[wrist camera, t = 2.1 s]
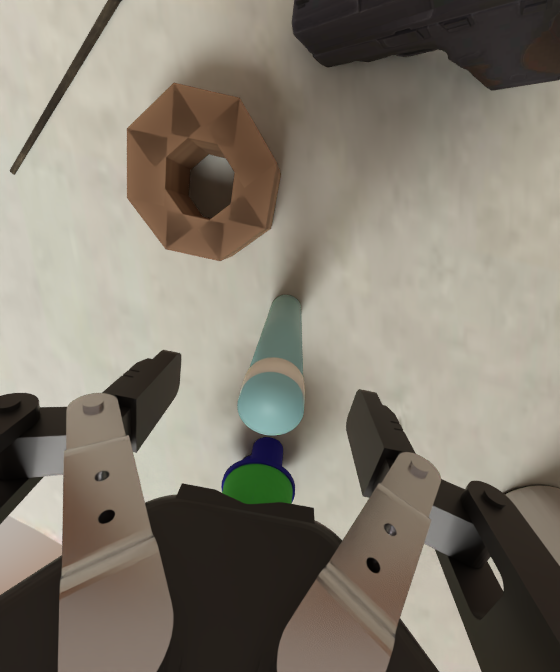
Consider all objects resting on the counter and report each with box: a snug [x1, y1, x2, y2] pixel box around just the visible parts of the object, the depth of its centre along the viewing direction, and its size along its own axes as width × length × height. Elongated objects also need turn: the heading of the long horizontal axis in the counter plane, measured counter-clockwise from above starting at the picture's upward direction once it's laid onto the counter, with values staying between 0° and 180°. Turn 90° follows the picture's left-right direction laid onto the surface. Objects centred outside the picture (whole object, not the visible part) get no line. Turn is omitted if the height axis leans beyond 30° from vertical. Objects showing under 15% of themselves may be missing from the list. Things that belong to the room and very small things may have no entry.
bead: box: [127, 83, 281, 261], centre depth 19 cm, size 9×9×4 cm
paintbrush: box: [10, 0, 122, 175], centre depth 18 cm, size 1×25×1 cm, turn 133°
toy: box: [222, 437, 295, 504], centre depth 23 cm, size 9×9×15 cm
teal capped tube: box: [237, 295, 305, 435], centre depth 17 cm, size 3×3×14 cm
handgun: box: [292, 0, 560, 90], centre depth 15 cm, size 3×14×10 cm
